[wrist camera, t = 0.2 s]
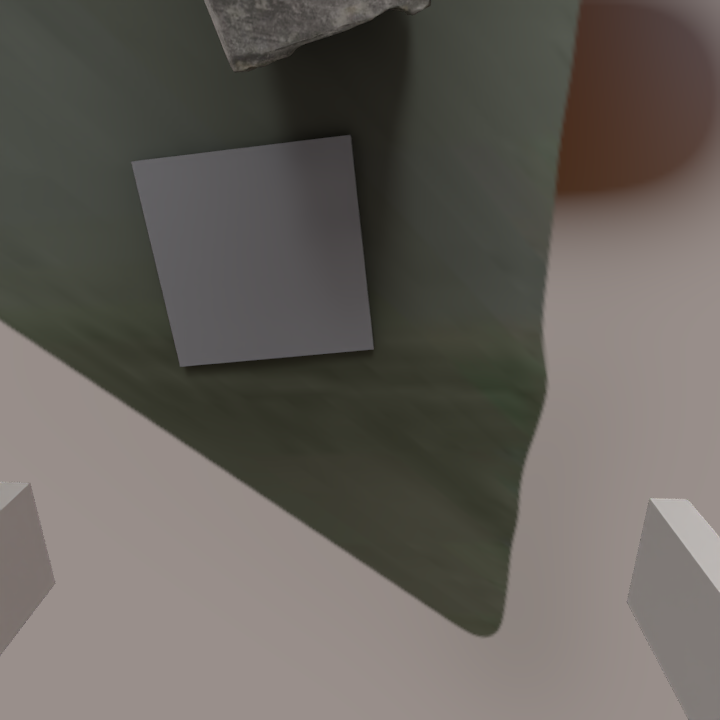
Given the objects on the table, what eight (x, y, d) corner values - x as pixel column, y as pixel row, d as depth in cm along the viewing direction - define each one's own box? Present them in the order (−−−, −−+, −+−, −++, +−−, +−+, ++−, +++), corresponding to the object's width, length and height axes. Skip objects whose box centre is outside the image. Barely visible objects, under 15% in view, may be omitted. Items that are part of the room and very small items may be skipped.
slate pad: (136, 161, 36) (131, 161, 35) (351, 135, 35) (350, 134, 34) (184, 362, 41) (180, 366, 40) (374, 345, 40) (373, 349, 39)
